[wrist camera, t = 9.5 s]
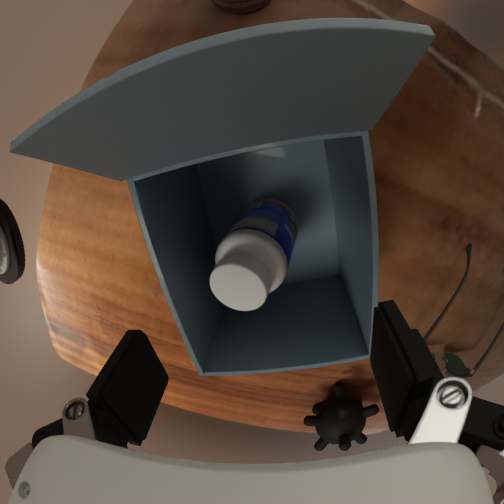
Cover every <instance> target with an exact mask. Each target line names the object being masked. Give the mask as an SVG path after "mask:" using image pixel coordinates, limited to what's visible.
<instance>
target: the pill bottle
mask: <svg viewBox="0 0 504 504" xmlns="http://www.w3.org/2000/svg"><path fill="white" fill-rule="evenodd" d="M297 235H298V221H297V218H296V216H295V214H294V212H293V211H292V210H291V209H290V208H289V207H288V206H287V205H286V204H284V203H282V202H280V201H278V200H275V199H268V198H266V199H260V200H257V201H255V202H253V203H251V204H250V205H249V206H248V207H247V208H246V210H245V211H244V212H243V214H242V215H241V216H240V218H239V219H238V220H237V222H236V223H235V224H234V226H233V227H232V228H231V229H230V231H229V232H228V233H227V235H226V236H225V237H224V239H223V240H222V242H221V243H220V244H219V246H218V248H217V251H216V256H215V263H216V266H215V268H214V270H213V271H212V273H211V276H210V287H211V290H212V292H213V294H214V295H215V297H216V298H217V299H218V300H219V301H220V302H222V303H223V304H224V305H226V306H228V307H230V308H232V309H235V310H239V311H251V310H255V309H257V308H259V307H260V306H261V305H262V304H263V303H264V302H265V300H266V298H267V296H268V294H269V293H270V292H272V291H274V290H275V289H276V288H278V287H279V285H280V284H281V283H282V282H283V280H284V277H285V275H286V272H287V269H288V265H289V262H290V259H291V255H292V252H293V249H294V245H295V242H296V238H297Z"/></svg>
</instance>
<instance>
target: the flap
mask: <svg viewBox="0 0 504 504" xmlns="http://www.w3.org/2000/svg"><path fill="white" fill-rule="evenodd" d="M434 38H435V34H434V33H433V31H432V30H431V28H430V27H429V26H426V25H420V24H414V23H407V22H400V21H391V20H380V19H364V18H321V19H305V20H294V21H285V22H277V23H270V24H264V25H258V26H252V27H247V28H242V29H237V30H233V31H228V32H224V33H220V34H216V35H213V36H209V37H205V38H202V39H199V40H195V41H192V42H189V43H186V44H183V45H180V46H177V47H174V48H171V49H169V50H166V51H163V52H161V53H158V54H155V55H153V56H151V57H148V58H146V59H143V60H141V61H139V62H137V63H134V64H132V65H130V66H128V67H126V68H124V69H121V70H119V71H117V72H115V73H113V74H111V75H110V76H108V77H106V78H104V79H102V80H100V81H98V82H96V83H95V84H93V85H91V86H89V87H88V88H86V89H84V90H83V91H81V92H79V93H78V94H76V95H74V96H73V97H71V98H70V99H68V100H67V101H65V102H64V103H62V104H61V105H59V106H58V107H56V108H55V109H53V110H52V111H50V112H49V113H48V114H46V115H45V116H43V117H42V118H41V119H39V120H38V121H37V122H36V123H34V124H33V125H32V126H30V127H29V128H28V129H27V130H25V131H24V132H23V133H22V134H21V135H19V136H18V137H17V138H16V139H15V140H14V141H12V143H11V149H10V152H11V153H16V154H20V155H24V156H28V157H32V158H36V159H40V160H44V161H48V162H52V163H55V164H59V165H63V166H67V167H71V168H75V169H78V170H82V171H86V172H89V173H93V174H97V175H100V176H104V177H107V178H111V179H114V180H118V181H123V180H126V179H129V178H132V177H135V176H138V175H142V174H145V173H148V172H151V171H154V170H158V169H161V168H165V167H168V166H171V165H175V164H179V163H182V162H186V161H190V160H194V159H198V158H201V157H206V156H210V155H214V154H218V153H222V152H227V151H231V150H236V149H241V148H246V147H251V146H256V145H261V144H267V143H272V142H278V141H284V140H291V139H297V138H304V137H311V136H319V135H327V134H337V133H347V132H358V131H371V130H373V128H374V127H375V126H376V124H377V123H378V121H379V120H380V118H381V117H382V116H383V114H384V113H385V111H386V110H387V108H388V107H389V106H390V104H391V103H392V101H393V100H394V98H395V97H396V95H397V94H398V92H399V91H400V90H401V88H402V87H403V85H404V84H405V82H406V81H407V79H408V78H409V76H410V75H411V73H412V72H413V70H414V69H415V67H416V66H417V64H418V63H419V61H420V60H421V58H422V57H423V55H424V54H425V52H426V51H427V49H428V48H429V46H430V45H431V43H432V42H433V40H434Z"/></svg>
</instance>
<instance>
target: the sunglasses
mask: <svg viewBox="0 0 504 504" xmlns="http://www.w3.org/2000/svg"><path fill="white" fill-rule="evenodd" d="M471 248H472V244H470V245H469V246H468V247H467V249H466V253H467V268H466V272H465V275H464V277H463V279H462V281H461V283H460V285H459V287H458V289H457V290H456V292H455V294H454V295H453V297H452V298H451V300H450V301H449V303H448V304H447V306H446V307H445V309H444V310H443V312H442V313H441V315H440V316H439V317H438V319H437V320H436V322H435V323H434V324H433V326H432V327H431V328H430V330H429V331H428V332H427V334H426V335H425V336H424V337H423V340H424V342H425V341H426V340H427V338H428V337H429V336H430V334H431V333H432V332H433V330H434V329H435V328H436V326H437V325H438V323H439V322H440V320H441V319H442V318H443V316H444V315H445V313H446V312H447V310H448V309H449V307H450V305H451V304H452V302H453V301H454V299H455V297H456V296H457V294H458V292H459V291H460V289H461V287H462V285H463V283H464V281H465V279H466V277H467V274H468V271H469V266H470V258H471ZM503 328H504V323H503V324H502V326H501V328H500V330H499V332H498V333H497V335H496V336H495V338H494V340H493V341H492V343H491V344H490V346H489V347H488V349H487V350H486V352H485V353H484V355H483V356H482V358H481V359H480V360H479V362H478V363H477V364H476V366H475V367H474V368H473V370H472V371H470V370H469V369H468V368H466V367H465V365H464V363H463V361H462V360H461V359H460V358H459V357H458V356H457V355H456V354H453V353H451V352H444V353H443V361H444V364H445V368H444V370H442V371H441V373H444V372H445V373H446V374H448V375H449V376H451V377H459V378H468V377H471V376H473V374H474V373H475V372H476V370H477V369H478V367H479V366H480V365H481V363H482V362H483V360H484V359H485V357H486V356H487V354H488V353H489V351H490V350H491V348H492V347H493V345H494V343H495V342H496V340H497V338H498V337H499V335H500V333H501V332H502V330H503ZM431 354H432V356H433V358H434V360H435V356H434V354H433V353H431Z"/></svg>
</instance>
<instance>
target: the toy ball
mask: <svg viewBox="0 0 504 504" xmlns="http://www.w3.org/2000/svg"><path fill="white" fill-rule="evenodd" d="M333 396H334V399H331V400H329V401H328V402H326V403H325V404H324V405H322V406H319V405H316V406H314V407H313V409H312V411H313V413H314V414H316V416H306V417H305V418H304V424H305V425H307V426H315V427H316V431H317V434H318V435H319V436H320V439H319V440H318V441H317V442H316V443H315V445H314V448H315V449H316V450H318V451H321V450H323V449H324V448H325V447H326V445H327V444H328V443H331V444H339V448H340V449H341V450H344V451H346V450H348V449H349V448H350V447H351V441H352V440H355V441H356V442H357V443H358V444H364V443H365V442H366V440H367V437H366V436H365V435H364V434H363V433H362V430H363V428H364V426H365V424H366V418H367V417H370V416H373V415H375V414H377V413H378V411H379V408H378V406H377V405H376V404H373V405H370V406H368V407H365V408H363V406H362V401H361V400H360V399H356V400H355V399H352V398H350V397H345V392H344V385H343V384H341V383H337V384H335V385H334V386H333Z"/></svg>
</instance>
